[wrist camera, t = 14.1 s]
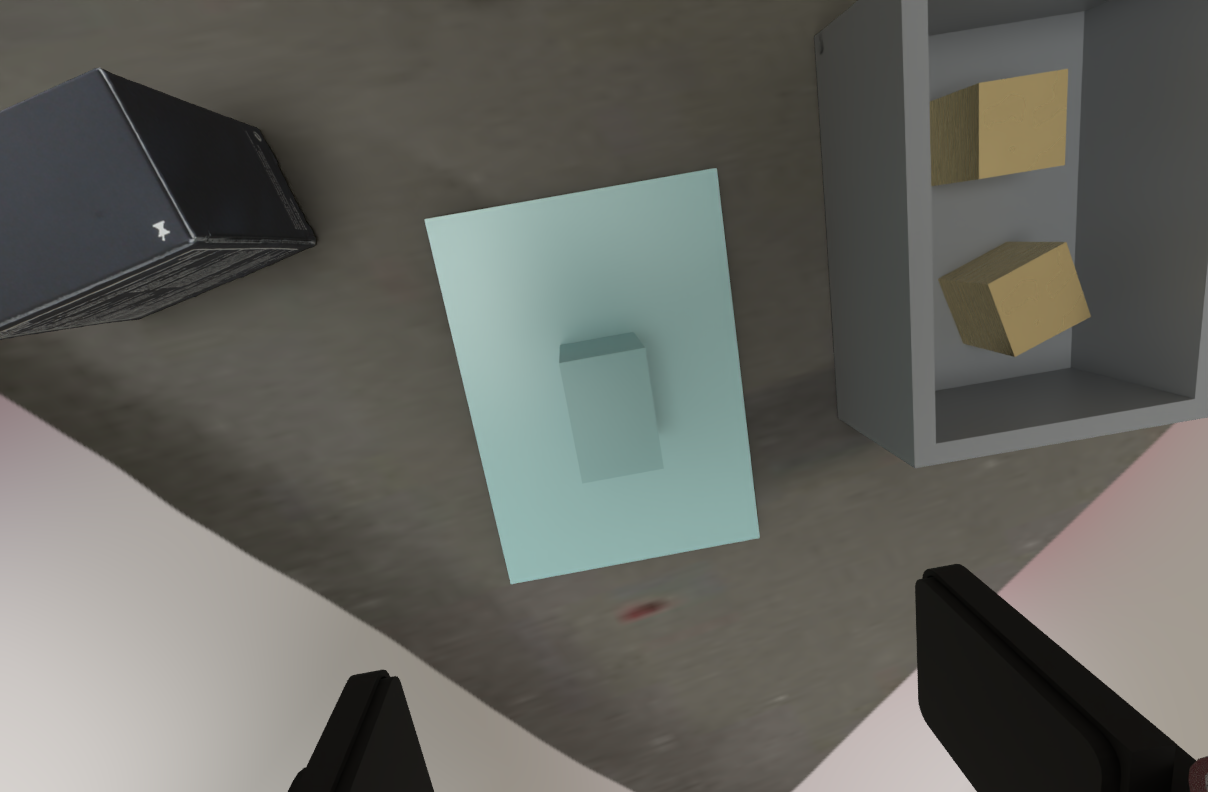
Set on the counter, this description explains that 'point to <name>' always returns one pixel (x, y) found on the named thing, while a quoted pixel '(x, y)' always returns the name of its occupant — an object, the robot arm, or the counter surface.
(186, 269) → the small box
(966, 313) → the brass block
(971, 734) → the robot arm
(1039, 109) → the brass block
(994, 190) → the tub
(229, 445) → the counter surface
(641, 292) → the lid
